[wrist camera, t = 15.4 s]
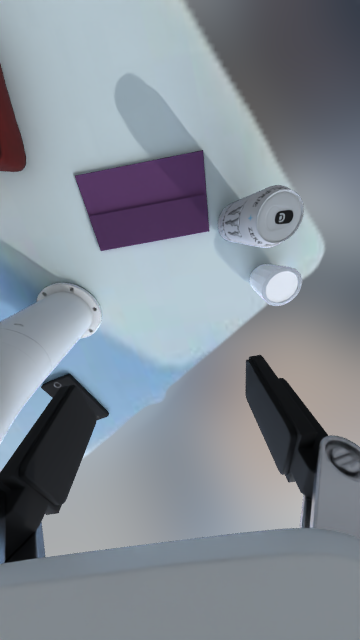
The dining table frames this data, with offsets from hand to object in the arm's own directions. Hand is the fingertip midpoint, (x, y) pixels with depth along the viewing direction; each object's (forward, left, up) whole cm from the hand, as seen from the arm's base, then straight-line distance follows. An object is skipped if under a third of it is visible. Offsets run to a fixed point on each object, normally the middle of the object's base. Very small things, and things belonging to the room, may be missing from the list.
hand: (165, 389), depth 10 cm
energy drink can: (+13, +7, -28) cm, 32 cm away
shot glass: (+19, -4, -28) cm, 34 cm away
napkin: (-1, +12, -28) cm, 31 cm away
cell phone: (-32, -30, -28) cm, 52 cm away
